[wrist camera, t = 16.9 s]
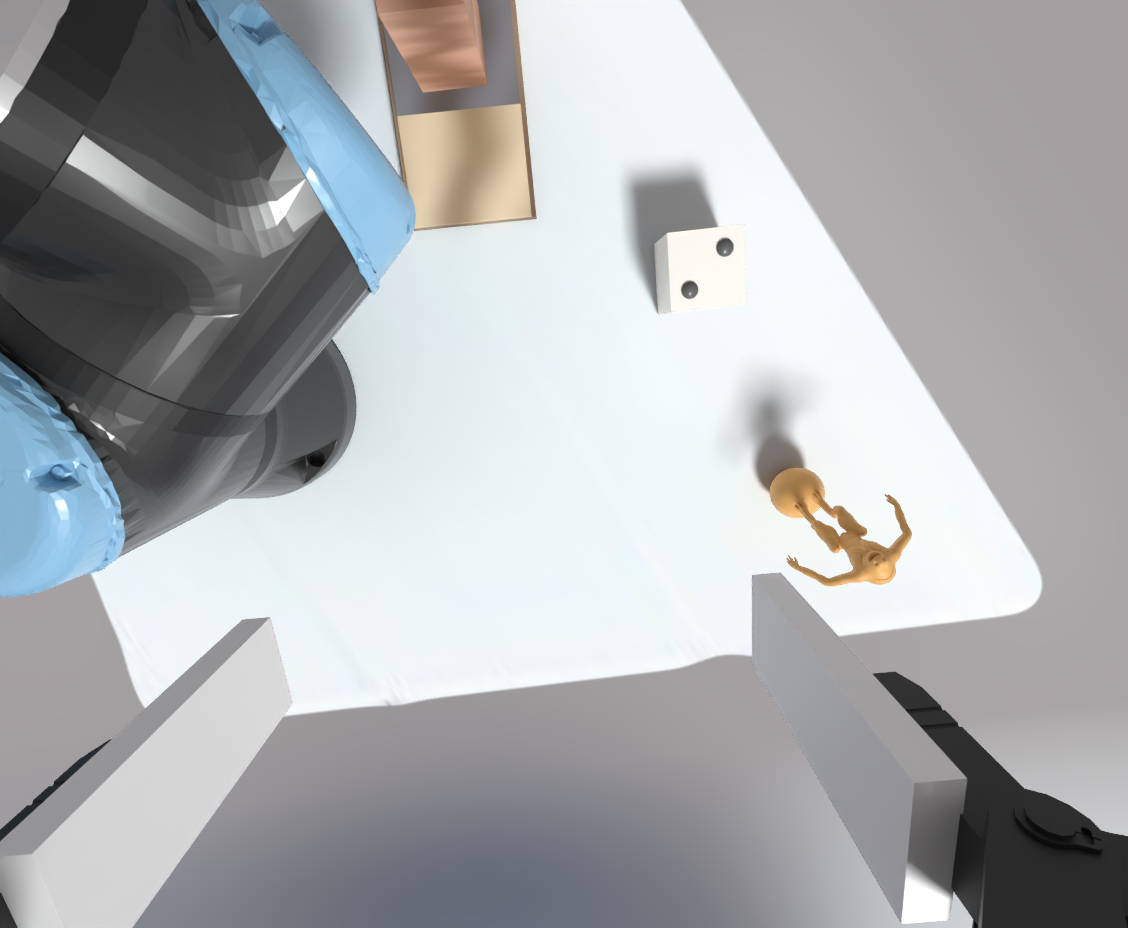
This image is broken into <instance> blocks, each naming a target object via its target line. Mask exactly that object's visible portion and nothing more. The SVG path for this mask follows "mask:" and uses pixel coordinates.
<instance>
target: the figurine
mask: <svg viewBox="0 0 1128 928" xmlns="http://www.w3.org/2000/svg"><path fill="white" fill-rule="evenodd" d="M885 496H886V497H887V498H888V499H889V500H888V499H886V500H887V501H888V502H889V503H891V504H893V505H894V507H895V514H896V518H897V520H898V522H899V524H900V528H901V530H902V532H903V534H902V535H901V536H900V537H899V538H898V539H897V540H896V541H895V542H894V543H893V545H892V546H891V547H890V548H885V547H883V546H881V545H879V544H878V543H876V542H873V541H867V540H864V539H862V538H860V537H862V536H865V535H866V534H867V529H866V528H864V527H862V526H861V525H860V524H858V523H857V522H856V520H855V519H854V518H853V516H852V515H851V514H850V513H848V512H847V511H846V510H845V509H844V508H843V507H842V506H835V507H834V508H833V509H832V508H831V507H830V506H829V505H828V504H827V503H826V502H825V501H824V497H825V490H824V486H823V483H822V481H821V480H820V478H819V477H818V476H817V475H816V474H815V473H813V472H812V471H810V470H807V469H804V468H789V469H786V470H784V471H782V472H780V473H779V474H778V475H777V476H776V477H775V478H774V480H773V481H772V483H771V486H770V498H771V501H772V503H773V505H774V506H775V508H776V509H777V510H778V511H779V512H781V513H782V514H784V515H786V516H789V517H793V518H803V517H805V518H806V519H807V520H808V521H809V522H810V523H811V527H812V528H813V529H814V530H815V531H816V533H817V535H818V536H819V537H820V538H821V539H822V540H823V541H824V542H825V543H826V544H827V546H828V547H829V549H830V550H831V551H832V552H833V553H838V552H839V551H840V550H841V549H844V550H845V551H846V553H847V555H848V557H849V560H850V562H851V564H852V566H853V570H852V571H851V572H848V573H845V574H841V575H838V576H835V577H833V578H830V579H829V578H826V577H824V576H823V575H820V574H818V573H816V572H814V571H812V570H810V569H808V568H805V567H801V566H799V565H798V562H797V559H796V558H795V557H794V559H795V562H794V561H793V559H792V558H791V557H790V556H789V555H788V557H789V559H790V560H791V561H790V560H789V559H788V558H787V560H788V561H787V562H788V564H789V565H790V566H791V567H793V568H794V569H796V570H798V571H800V572H802V573H804V574H805V575H807V576H809V577H811V578H813V579H816V580H817V581H819V582H820V583H822V584H824V585H826V586H837V585H843V584H847V583H851V582H863V581H868V582H871V583H873V584H886V583H888V582H890V581H891V580H892V579H893V578H894V576H895V573H896V570H895V563H896V562H897V560H898V559H899V558H900V556H901V553H902V550H903V549H904V548H905V547H906V545H907V544H908V542H909V540H910V539H911V536H912V532H911V530H910V528H909V527H908V525H907V523H906V520H905V516H904V513H903V511H902V510H901V507H900V505H899V503H898V502H897V501H896V500H895V499H894V498H893V497H891V496H890V495H888V496H887V495H886V494H885ZM820 507H821V508H822V509H824V510H825V511H826V512H827V513H828V514H829V515H830V516H832V517H833V518H838V523H839V525H840V526H841V527H842V528H843V529H844V530H846V531H847V532H846V533H842V534H841V536H840V537H839V535H838V534H837V532H836V530H835V529H834V528H833V527H831V526H828V525H825V524H823V523H822V522H820V521H818V520H816V519H815V518H814V517H813V516H812V514H813V513H815V512H816V511H817V510H818V509H819V508H820Z"/></svg>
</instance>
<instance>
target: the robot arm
mask: <svg viewBox="0 0 1128 928" xmlns="http://www.w3.org/2000/svg"><path fill="white" fill-rule="evenodd" d="M415 222H416V214H415V206H414V203H413V199H412V197H411V194H410V192H409V190H408V188H407V187H406V185H405V183H404V182H403V181H402V179H401V178H400V176H399V175H398V173H397V172H396V171H395V169H394V168H393V166H392V165H391V163H390V162H389V161H388V159H387V158H386V157H385V155H384V154H383V153H382V151H381V150H380V149H379V147H378V146H377V145H376V143H375V142H374V141H373V140H372V138H371V137H370V136H369V134H368V133H367V132H366V130H365V129H364V128H363V127H362V125H361V124H360V123H359V122H358V120H357V119H356V118H355V116H354V115H353V114H352V113H351V111H350V110H349V109H348V108H347V106H346V105H345V104H344V103H343V101H342V100H341V99H340V98H339V96H338V95H337V94H336V93H335V92H334V90H333V89H332V88H331V87H330V85H329V84H328V83H327V82H326V80H325V79H324V78H323V77H322V76H321V74H320V73H319V72H318V71H317V69H316V68H315V67H314V66H313V65H312V63H311V62H310V61H309V60H308V59H307V57H306V56H305V55H304V54H303V53H302V51H301V50H300V49H299V48H298V47H297V46H296V44H295V43H294V42H293V41H292V40H291V38H290V37H289V36H287V35H286V34H285V33H284V32H282V31H281V29H280V28H279V26H278V24H277V23H276V21H275V20H274V19H273V18H272V17H271V16H270V14H269V13H268V12H267V11H266V10H265V9H264V8H263V7H262V5H261V4H260V3H259V2H258V1H257V0H0V597H17V596H24V595H29V594H34V593H37V592H41V591H44V590H47V589H50V588H52V587H54V586H57V585H59V584H62V583H64V582H67V581H69V580H71V579H74V578H77V577H79V576H81V575H85V574H91V573H94V572H96V571H100V570H102V569H104V568H106V567H107V566H108V565H109V564H110V563H112V562H113V561H115V560H116V559H117V558H118V557H120V556H122V555H124V554H126V553H128V552H130V551H131V550H133V549H135V548H137V547H139V546H141V545H143V544H145V543H147V542H149V541H151V540H153V539H154V538H156V537H158V536H160V535H162V534H164V533H166V532H168V531H170V530H172V529H174V528H175V527H177V526H179V525H181V524H183V523H185V522H187V521H189V520H191V519H193V518H195V517H196V516H198V515H200V514H202V513H204V512H206V511H208V510H210V509H212V508H214V507H216V506H217V505H219V504H221V503H223V502H225V501H227V500H229V499H243V498H269V497H275V496H280V495H284V494H287V493H291V492H293V491H296V490H298V489H300V488H302V487H304V486H306V485H308V484H309V483H311V482H313V481H314V480H316V479H318V478H319V477H321V476H322V475H324V474H325V473H326V472H327V471H329V470H330V469H331V468H332V467H333V466H334V465H335V464H336V463H337V462H338V460H339V459H340V458H341V456H342V455H343V453H344V452H345V450H346V448H347V446H348V444H349V442H350V439H351V437H352V434H353V430H354V426H355V420H356V396H355V390H354V385H353V381H352V378H351V375H350V372H349V370H348V367H347V365H346V363H345V361H344V359H343V357H342V356H341V354H340V352H339V351H338V349H337V348H336V346H335V345H334V344H333V342H332V341H331V339H332V338H333V337H334V335H335V334H336V333H337V332H338V331H339V329H340V328H341V327H342V326H343V325H344V323H345V322H346V321H347V320H348V319H349V317H350V316H351V315H352V314H353V312H354V311H355V310H356V309H357V308H358V306H359V305H360V304H361V303H362V302H363V300H364V299H365V298H366V297H367V296H368V294H369V293H370V292H371V293H372V294H373V295H374V294H375V293H376V292H377V290H378V289H379V287H380V285H379V280H380V279H381V277H382V276H383V275H384V273H385V272H386V271H387V269H388V268H389V267H390V265H391V264H392V263H393V261H394V260H395V259H396V257H397V256H398V255H399V253H400V252H401V251H402V249H403V248H404V247H405V245H406V244H407V243H408V241H409V239H410V238H411V236H412V233H413V231H414V227H415ZM752 665H753V666H754V668H755V670H756V672H757V673H758V675H759V677H760V679H761V680H762V682H763V684H764V686H765V687H766V689H767V691H768V693H769V694H770V696H771V698H772V700H773V701H774V703H775V705H776V706H777V708H778V710H779V712H780V713H781V715H782V717H783V719H784V720H785V722H786V724H787V726H788V727H789V729H790V731H791V733H792V734H793V736H794V738H795V740H796V741H797V743H798V745H799V747H800V748H801V750H802V752H803V753H804V755H805V757H806V759H807V760H808V762H809V764H810V766H811V767H812V769H813V771H814V773H815V774H816V776H817V778H818V779H819V781H820V783H821V785H822V786H823V788H824V790H825V792H826V793H827V795H828V797H829V799H830V800H831V802H832V804H833V806H834V807H835V809H836V811H837V813H838V814H839V816H840V818H841V819H842V821H843V823H844V825H845V827H846V828H847V830H848V832H849V833H850V835H851V837H852V839H853V840H854V842H855V844H856V846H857V847H858V849H859V851H860V853H861V854H862V856H863V858H864V860H865V861H866V863H867V865H868V866H869V868H870V870H871V872H872V874H873V875H874V877H875V879H876V881H877V882H878V884H879V886H880V888H881V889H882V891H883V893H884V894H885V896H886V898H887V900H888V901H889V903H890V905H891V907H892V908H893V910H894V912H895V914H896V915H897V917H898V919H899V921H900V922H901V924H905V923H918V922H931V921H944V920H950V915H951V907H952V899H953V891H954V892H955V894H956V895H957V897H958V898H959V899H960V901H961V902H962V904H963V905H964V907H965V908H966V909H967V910H968V912H969V914H970V915H971V916H972V918H973V925H972V928H1128V836H1124V835H1118V834H1113V833H1109V832H1105V831H1101V830H1100V829H1099V828H1098V827H1097V826H1096V825H1095V824H1094V823H1093V822H1092V821H1091V820H1090V819H1089V818H1087V817H1086V816H1084V815H1083V814H1081V813H1080V812H1079V811H1077V810H1076V809H1074V808H1073V807H1071V806H1070V805H1068V804H1066V803H1064V802H1061V801H1059V800H1057V799H1055V798H1053V797H1051V796H1049V795H1047V794H1043V793H1038V792H1035V791H1031V790H1028V789H1024V788H1023V787H1022V786H1021V785H1020V784H1019V783H1018V782H1017V781H1016V780H1015V779H1014V778H1013V777H1012V776H1011V775H1010V774H1009V773H1008V772H1007V771H1006V770H1005V769H1003V767H1002V766H1001V765H1000V764H999V763H998V762H997V761H996V760H995V759H994V758H993V757H992V756H991V755H990V754H989V753H988V752H987V751H986V750H984V748H983V747H982V746H981V745H980V744H979V743H978V742H977V741H976V740H975V739H974V738H973V737H972V736H971V735H970V734H969V733H967V732H966V731H965V729H963V728H962V727H959V726H958V723H957V722H956V721H955V720H954V719H953V718H952V717H951V716H950V715H949V714H948V713H947V712H946V711H945V710H942V708H941V706H940V705H939V704H938V703H937V702H936V701H935V700H934V699H933V698H932V697H931V696H930V695H929V694H928V693H927V692H926V691H925V690H924V689H923V688H922V687H920V686H919V685H917V684H915V683H914V682H912V681H910V680H908V679H907V678H905V677H903V676H902V675H900V674H898V673H896V672H887V673H875V674H872V673H871V672H870V671H869V670H868V669H867V668H866V666H865V665H864V664H863V663H862V662H861V661H860V660H859V659H858V658H857V656H856V655H855V654H854V653H853V652H852V651H851V650H850V649H849V648H848V647H847V645H846V644H845V643H844V642H843V641H842V640H841V639H840V638H839V637H838V635H837V634H836V633H835V632H834V631H833V630H832V629H831V628H830V627H829V626H828V624H827V623H826V622H825V621H824V620H823V619H822V618H821V617H820V616H819V615H818V613H817V612H816V611H815V610H814V609H813V608H812V607H811V606H810V605H809V603H808V602H807V601H806V600H805V599H804V598H803V597H802V596H801V595H800V594H799V592H798V591H797V590H796V589H795V588H794V587H793V586H792V585H791V584H790V583H789V581H788V580H787V579H786V578H785V577H784V576H783V575H782V574H781V573H771V574H760V575H752ZM292 703H293V702H292V699H291V695H290V691H289V687H288V683H287V679H286V676H285V672H284V668H283V664H282V660H281V656H280V653H279V649H278V645H277V641H276V637H275V633H274V630H273V626H272V622H271V618H270V617H268V618H257V619H245V620H242V621H241V622H240V623H239V624H237V625H236V626H235V627H234V628H233V629H232V630H231V631H230V632H229V633H228V634H226V635H225V636H224V637H223V638H222V639H221V640H220V641H219V642H218V643H217V644H216V645H214V646H213V647H212V648H211V649H210V650H209V651H208V652H207V653H206V654H205V655H204V656H202V657H201V658H200V659H199V660H198V661H197V662H196V663H195V664H194V665H193V666H191V667H190V668H189V669H188V670H187V671H186V672H185V673H184V674H183V675H182V676H181V677H179V678H178V679H177V680H176V681H175V682H174V683H173V684H172V685H171V686H170V687H169V688H167V689H166V690H165V691H164V692H163V693H162V694H161V695H160V696H159V697H158V698H156V699H155V700H154V701H153V702H152V703H151V704H150V705H149V706H148V707H147V708H146V709H144V710H143V711H142V712H141V713H140V714H139V715H138V716H137V717H136V718H135V719H134V720H132V721H131V722H130V723H129V724H128V725H127V726H126V727H125V728H124V729H123V730H121V731H120V732H119V733H118V734H117V735H116V736H115V737H114V738H113V739H111V740H108V741H107V742H105V743H104V744H102V745H101V746H99V747H98V748H96V749H94V750H93V751H91V752H90V753H88V754H87V755H85V756H84V757H82V758H80V759H79V760H78V761H77V762H76V763H75V764H73V765H72V766H71V767H70V768H69V769H68V770H67V771H66V772H64V773H63V774H62V775H61V776H60V777H59V778H58V779H57V780H55V781H54V785H53V786H49V787H48V788H47V789H45V790H44V791H43V792H42V793H41V794H40V795H39V796H38V797H37V798H35V799H34V800H33V803H32V805H30V806H29V805H28V806H26V807H25V808H24V809H23V810H22V811H21V812H20V813H19V814H17V815H16V816H15V817H14V818H13V819H12V820H11V821H10V822H9V823H7V824H6V825H5V826H4V827H3V828H2V829H1V830H0V928H132V927H133V926H134V924H135V923H136V921H137V920H138V919H139V917H140V916H141V914H142V913H143V912H144V910H145V909H146V908H147V906H148V905H149V903H150V902H151V901H152V899H153V898H154V896H155V895H156V894H157V892H158V891H159V889H160V888H161V886H162V885H163V884H164V882H165V881H166V880H167V878H168V877H169V875H170V874H171V872H172V871H173V870H174V868H175V867H176V866H177V864H178V863H179V861H180V860H181V859H182V857H183V855H184V854H185V853H186V852H187V850H188V849H189V847H190V846H191V845H192V843H193V842H194V840H195V839H196V837H197V836H198V835H199V833H200V832H201V830H202V829H203V828H204V826H205V825H206V824H207V822H208V821H209V819H210V818H211V817H212V815H213V814H214V812H215V811H216V810H217V808H218V807H219V805H220V804H221V802H222V801H223V800H224V799H225V797H226V796H227V794H228V793H229V791H230V790H231V789H232V787H233V786H234V784H235V783H236V782H237V780H238V779H239V777H240V776H241V775H242V773H243V772H244V771H245V769H246V768H247V766H248V765H249V764H250V762H251V761H252V759H253V758H254V756H255V755H256V754H257V752H258V751H259V750H260V748H261V747H262V745H263V744H264V742H265V741H266V740H267V738H268V737H269V736H270V734H271V733H272V731H273V730H274V729H275V727H276V726H277V724H278V723H279V722H280V720H281V719H282V717H283V716H284V715H285V713H286V712H287V710H288V709H289V708H290V706H291V705H292Z"/></svg>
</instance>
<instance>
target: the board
mask: <svg viewBox="0 0 1128 928" xmlns="http://www.w3.org/2000/svg"><path fill="white" fill-rule="evenodd" d="M477 2H478V6H479V13H480V21H481V29H482V38H483V46H484V55H485V63H486V72H487V80H488V85H486V86H477V87H468V88H459V89H450V90H441V91H432V92H422V90H421V88H420V86H419V85H418V83H417V81H416V79H415V78H414V76H413V74H412V73H411V71H410V69H409V67H408V66H407V64H406V62H405V60H404V59H403V57H402V55H401V54H400V52H399V50H398V48H397V47H396V45H395V43H394V41H393V40H392V38H391V36H390V34H389V33H388V31H387V29H386V28H385V26H384V24H383V22H382V21H381V19H380V17H379V15H378V17H379V24H380V30H381V37H382V44H383V50H384V57H385V63H386V70H387V76H388V83H389V89H390V96H391V102H392V109H393V115H394V122H395V128H396V135H397V141H398V148H399V154H400V161H401V167H402V174H403V180H404V183H405V185H406V187H407V188H408V190H409V192H410V194H411V197H412V199H413V203H414V206H415V214H416V222H415V227H414V231H417V230H427V229H437V228H448V227H458V226H468V225H478V224H488V223H498V222H508V221H518V220H529V219H536V210H535V200H534V189H533V179H532V169H531V159H530V148H529V138H528V128H527V117H526V107H525V97H524V87H523V76H522V66H521V56H520V46H519V35H518V25H517V15H516V4H515V0H477Z"/></svg>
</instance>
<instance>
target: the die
mask: <svg viewBox="0 0 1128 928" xmlns="http://www.w3.org/2000/svg"><path fill="white" fill-rule="evenodd" d="M654 254H655V271H656V289H657V306H658V315H659V314H668V313H677V312H686V311H696V310H705V309H714V308H723V307H731V306H739V305H746V288H745V227H744V224H741V225H732V226H724V227H715V228H706V229H697V230H688V231H679V232H670V233H666V234H665V235H664V236H663V237H662V238H661V239H660V240H659V241H657V242H656V243H655V244H654Z"/></svg>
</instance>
